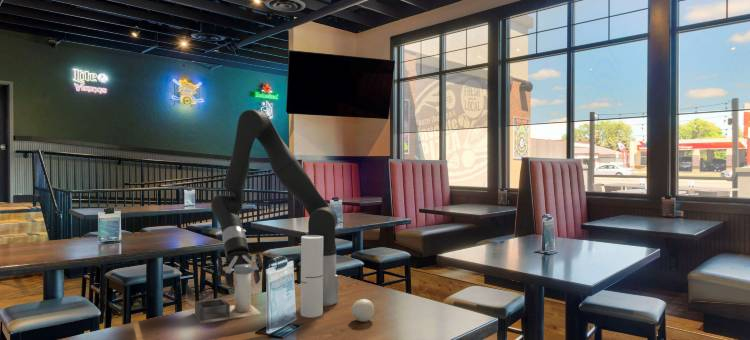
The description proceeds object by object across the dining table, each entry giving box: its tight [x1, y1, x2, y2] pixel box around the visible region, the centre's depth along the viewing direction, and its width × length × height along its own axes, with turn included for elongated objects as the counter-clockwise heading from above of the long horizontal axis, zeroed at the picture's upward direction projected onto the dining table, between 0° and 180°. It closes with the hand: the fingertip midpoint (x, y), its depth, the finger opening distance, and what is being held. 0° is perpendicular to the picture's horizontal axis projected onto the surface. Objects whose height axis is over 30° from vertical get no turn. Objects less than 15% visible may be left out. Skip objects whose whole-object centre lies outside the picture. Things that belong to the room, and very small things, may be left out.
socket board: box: [192, 297, 262, 325], centre depth 145 cm, size 18×13×5 cm
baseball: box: [350, 298, 375, 323], centre depth 143 cm, size 7×7×7 cm
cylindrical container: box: [300, 234, 324, 318], centre depth 149 cm, size 7×7×25 cm
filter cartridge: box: [233, 264, 253, 312], centre depth 148 cm, size 5×5×14 cm
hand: (244, 283), depth 146 cm, fingers open, 8 cm apart
